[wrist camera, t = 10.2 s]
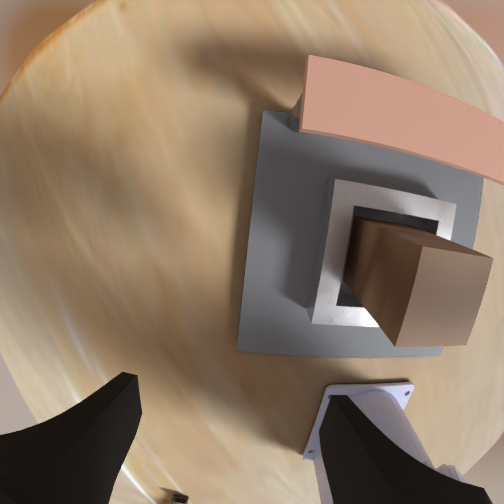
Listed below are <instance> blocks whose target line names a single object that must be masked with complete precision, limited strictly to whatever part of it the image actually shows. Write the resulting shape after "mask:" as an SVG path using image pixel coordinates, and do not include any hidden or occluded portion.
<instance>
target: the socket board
mask: <svg viewBox="0 0 504 504" xmlns="http://www.w3.org/2000/svg"><path fill="white" fill-rule="evenodd" d="M484 178H486V179H489V180H491V181H494V182H497V183H499V184H502V185H504V122H503V121H501V120H500V119H498V118H496V117H494V116H492V115H490V114H488V113H486V112H484V111H482V110H480V109H478V108H476V107H474V106H472V105H470V104H468V103H465V102H463V101H461V100H459V99H456V98H454V97H452V96H449V95H447V94H445V93H442V92H440V91H437V90H435V89H432V88H430V87H427V86H424V85H421V84H419V83H416V82H413V81H410V80H407V79H404V78H401V77H398V76H395V75H392V74H388V73H385V72H382V71H378V70H375V69H371V68H367V67H364V66H360V65H356V64H352V63H347V62H343V61H339V60H334V59H329V58H324V57H319V56H314V55H308V57H307V59H306V62H305V72H304V83H303V93H302V94H301V96H300V98H299V99H298V101H297V103H296V105H295V106H294V108H293V110H292V111H291V113H287V112H280V111H272V110H263V113H262V122H261V131H260V140H259V149H258V158H257V167H256V176H255V185H254V194H253V203H252V212H251V221H250V230H249V239H248V249H247V258H246V267H245V276H244V286H243V295H242V304H241V314H240V323H239V333H238V342H237V351H241V352H251V353H263V354H275V355H290V356H308V357H334V358H400V357H425V356H440V355H441V352H442V350H443V347H444V346H433V347H394V345H393V344H392V343H391V341H390V340H389V339H388V337H387V336H386V335H385V333H384V332H383V331H382V330H381V328H380V327H379V326H378V324H377V323H376V322H375V320H374V319H373V318H372V317H371V315H370V314H369V313H368V312H367V310H366V309H365V308H364V306H363V305H362V304H361V303H360V301H359V300H358V299H357V298H356V296H355V295H354V294H353V293H352V291H351V290H350V289H349V288H348V286H347V285H346V284H345V283H344V282H343V276H344V271H345V266H346V261H347V256H348V251H349V245H350V240H351V234H352V228H353V222H354V216H358V217H364V218H370V219H376V220H382V221H388V222H393V223H399V224H405V225H410V226H413V227H416V228H419V229H421V230H424V231H427V232H429V233H432V234H435V235H437V236H440V237H442V238H445V239H448V240H450V241H453V242H455V243H458V244H460V245H463V246H465V247H467V248H470V249H472V250H473V245H474V240H475V235H476V230H477V224H478V218H479V211H480V204H481V197H482V188H483V179H484Z"/></svg>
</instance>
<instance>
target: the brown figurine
mask: <svg viewBox="0 0 504 504" xmlns="http://www.w3.org/2000/svg"><path fill="white" fill-rule="evenodd" d="M188 499H189V498H188V497H182V496H175V495H173V497H172V499H171V504H187V502H188Z"/></svg>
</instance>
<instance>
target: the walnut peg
mask: <svg viewBox="0 0 504 504" xmlns="http://www.w3.org/2000/svg"><path fill="white" fill-rule="evenodd" d="M492 262H493V258H491V257H489V256H486V255H484V254H482V253H479V252H477V251H475V250H472V249H470V248H467V247H465V246H463V245H460V244H458V243H455V242H453V241H450V240H448V239H445V238H442V237H440V236H437V235H435V234H432V233H429V232H427V231H424V230H421V229H419V228H416V227H413V226H410V225H405V224H399V223H393V222H388V221H382V220H376V219H370V218H364V217H358V216H354V222H353V228H352V234H351V240H350V245H349V251H348V256H347V261H346V266H345V271H344V276H343V282H344V283H345V284H346V285H347V286H348V288H349V289H350V290H351V291H352V293H353V294H354V295H355V296H356V298H357V299H358V300H359V301H360V303H361V304H362V305H363V306H364V308H365V309H366V310H367V312H368V313H369V314H370V315H371V317H372V318H373V319H374V320H375V322H376V323H377V324H378V326H379V327H380V328H381V330H382V331H383V332H384V333H385V335H386V336H387V337H388V339H389V340H390V341H391V343H392V344H393V345H394V347H433V346H457V345H466V344H467V341H468V338H469V336H470V333H471V331H472V328H473V325H474V322H475V319H476V317H477V314H478V311H479V308H480V305H481V301H482V298H483V295H484V292H485V288H486V285H487V281H488V277H489V274H490V270H491V266H492Z"/></svg>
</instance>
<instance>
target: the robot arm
mask: <svg viewBox="0 0 504 504" xmlns="http://www.w3.org/2000/svg"><path fill="white" fill-rule="evenodd" d="M413 389H414V384H413V383H412V382H401V383H384V384H352V385H330V386H328V387H327V388H326V389H325V393H324V396H323V399H322V402H321V405H320V408H319V411H318V414H317V417H316V420H315V423H314V426H313V429H312V432H311V434H310V437H309V440H308V443H307V446H306V448H305V451H304V454H303V459H304V460H306V461H311V460H313V461H314V466H315V471H316V477H317V482H318V488H319V494H320V499H321V504H492V502H491V500H490V498H489V496H488V495H487V493H486V491H485V490H484V488H481V487H477V486H474V485H471V484H467V483H466V481H465V480H464V478H463V477H462V475H461V474H460V472H459V471H458V469H457V468H456V467H455V466H452V465H448V466H447V465H446V464H443V465H441V466H440V467H438V468H437V469H436V468H435V467H434V466H433V464H432V462H431V460H430V458H429V457H428V455H427V453H426V451H425V449H424V447H423V445H422V443H421V442H420V440H419V438H418V436H417V434H416V432H415V431H414V429H413V427H412V425H411V423H410V422H409V420H408V418H407V416H406V414H405V413H404V411H403V410H404V408H405V406H406V404H407V402H408V400H409V398H410V396H411V394H412V391H413ZM407 391H408V392H407ZM329 395H331V396H329ZM141 415H142V408H141V401H140V394H139V386H138V377H137V375H134V374H130V373H125V372H122V373H120V374H119V375H117V376H116V377H115V378H113V379H112V380H111V381H109V382H108V383H107V384H105V385H104V386H103V387H101V388H100V389H99V390H97V391H96V392H94V393H93V394H91V395H90V396H89V397H87V398H86V399H84V400H83V401H81V402H80V403H78V404H76V405H75V406H73V407H72V408H70V409H68V410H67V411H65V412H63V413H61V414H59V415H57V416H55V417H53V418H51V419H49V420H47V421H45V422H42V423H40V424H37V425H34V426H32V427H29V428H26V429H23V430H20V431H16V432H12V433H8V434H3V435H0V504H109V500H110V496H111V493H112V489H113V486H114V483H115V480H116V478H117V475H118V473H119V471H120V469H121V466H122V464H123V462H124V460H125V457H126V455H127V453H128V451H129V449H130V446H131V444H132V442H133V440H134V437H135V435H136V432H137V429H138V426H139V422H140V419H141Z"/></svg>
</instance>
